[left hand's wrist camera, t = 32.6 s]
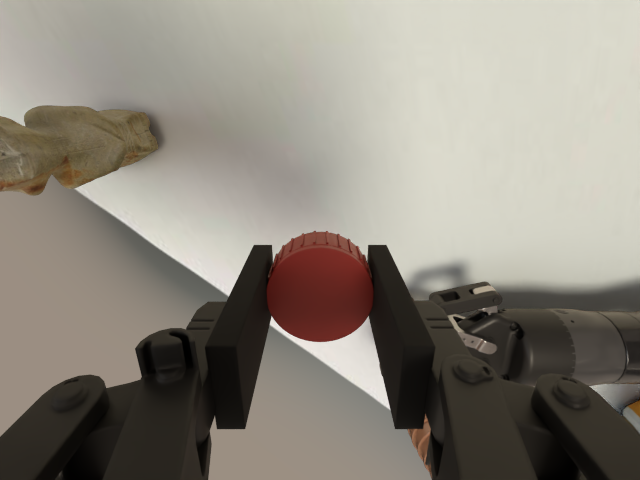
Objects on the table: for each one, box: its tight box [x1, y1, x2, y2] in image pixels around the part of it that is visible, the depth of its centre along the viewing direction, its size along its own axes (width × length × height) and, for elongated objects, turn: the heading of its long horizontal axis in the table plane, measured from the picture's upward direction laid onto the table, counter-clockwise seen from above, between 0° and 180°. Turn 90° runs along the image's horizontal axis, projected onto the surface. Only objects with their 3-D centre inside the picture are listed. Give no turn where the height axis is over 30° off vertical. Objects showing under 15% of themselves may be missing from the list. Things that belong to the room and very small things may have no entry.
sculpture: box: [0, 106, 158, 195], centre depth 26 cm, size 6×7×15 cm
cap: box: [267, 231, 374, 342], centre depth 14 cm, size 4×4×2 cm
